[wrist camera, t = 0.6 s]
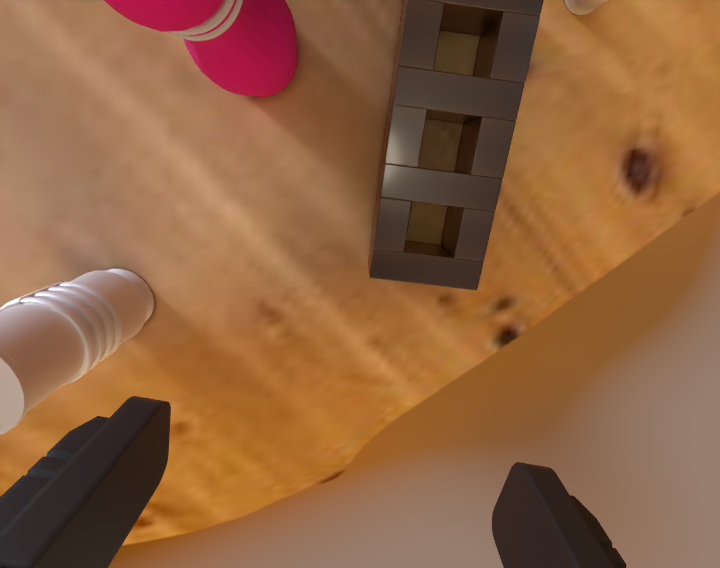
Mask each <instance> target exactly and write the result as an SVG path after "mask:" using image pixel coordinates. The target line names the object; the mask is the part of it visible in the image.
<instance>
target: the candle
mask: <svg viewBox="0 0 720 568" xmlns="http://www.w3.org/2000/svg"><path fill="white" fill-rule="evenodd" d="M153 309H154V299H153V294H152V292H151V290H150V288H149V286H148V285H147V284H146V283H145V281H144V280H143V279H141V278H140V277H139V276H138V275H136V274H134V273H132V272H130V271H128V270H123V269H109V270H106V271H105V270H103V271H92V272H89V273H85V274H83V275H82V276H80V277H78V278H76V279H74V280H72V281H70V282H65V281H62V282H59V283H56V284H53V285H50V286H48V287H45V288H43V289H40V290H38V291H35V292H32V293H30V294H27V295H25V296H22V297H20V298H17V299H15V300H12V301H9V302H8V303H7V304H5V305H4V306H2V307H1V308H0V435H2V434H4V433H6V432H7V431H9V430H10V429H12V428H14V427H15V426H16V425H18V424H19V423H20V422H21V420H22V419H23V418H24V417H25V415H26V414H27V411H29V410H30V409H31V408H33V407H34V406H36V405H37V404H38V403H40V402H41V401H42V400H44V399H45V398H46V397H48V396H49V395H50V394H52V393H53V392H54V391H56V390H57V389H58V388H60V387H61V386H62V385H65V384H69V383H72V382H74V381H76V380H77V379H79V378H81V377H82V376H83V375H85V374H86V373H87V372H88V371H89V370H91V369H93V368H94V367H95V366H96V365H97V364H98V363H100V362H102V361H103V360H104V359H106V357H108V356H109V355H111V354H112V353H114V352H115V351H116V349H117V348H118V347H119V346H120V345H121V343H123V342H125V341H126V340H128V339H130V338H131V337H133V336H134V335H136V334H137V333H138V332H139V331H140V330H141V329H142V328H143V325H144V323H145V322H146V321H147V320H148V319H149V317H150V316H151V314H152V312H153Z"/></svg>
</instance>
